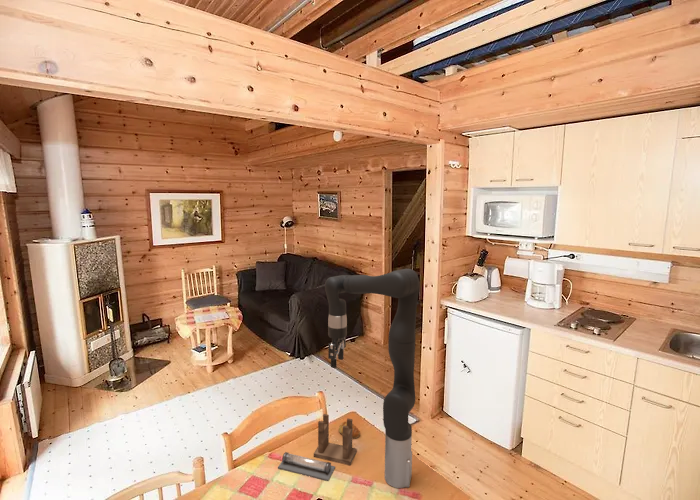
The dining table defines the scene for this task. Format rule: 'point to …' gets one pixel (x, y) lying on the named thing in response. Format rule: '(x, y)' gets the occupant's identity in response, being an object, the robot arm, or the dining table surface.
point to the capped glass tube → (306, 462)
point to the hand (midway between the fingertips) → (337, 363)
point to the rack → (332, 450)
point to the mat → (306, 471)
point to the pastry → (354, 430)
